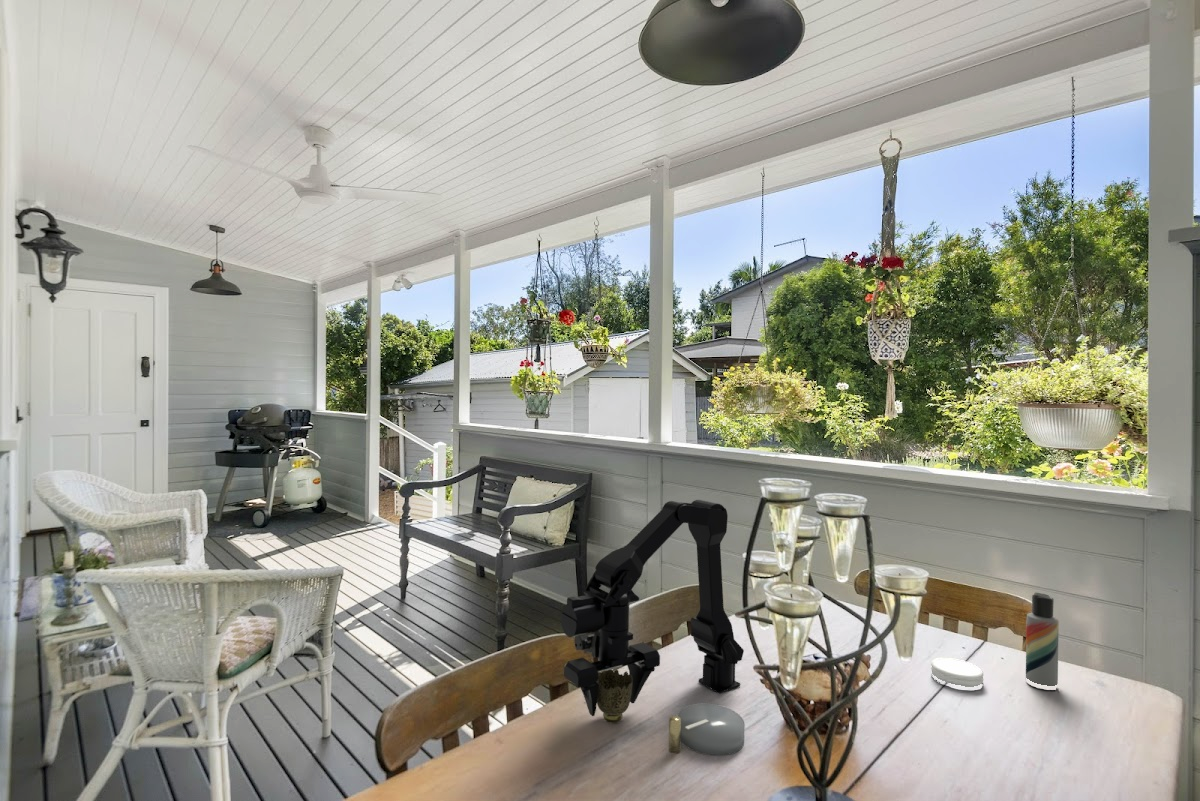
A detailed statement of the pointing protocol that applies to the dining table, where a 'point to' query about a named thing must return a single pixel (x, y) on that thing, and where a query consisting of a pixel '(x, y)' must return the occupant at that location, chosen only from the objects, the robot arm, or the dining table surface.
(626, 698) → the cup
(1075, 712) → the dining table surface
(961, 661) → the coaster
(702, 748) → the computer mouse
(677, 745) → the brass dowel
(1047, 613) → the lotion bottle
